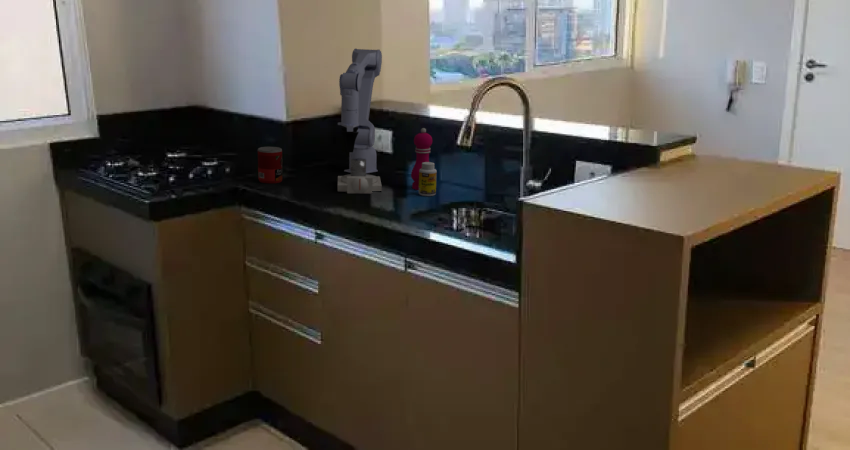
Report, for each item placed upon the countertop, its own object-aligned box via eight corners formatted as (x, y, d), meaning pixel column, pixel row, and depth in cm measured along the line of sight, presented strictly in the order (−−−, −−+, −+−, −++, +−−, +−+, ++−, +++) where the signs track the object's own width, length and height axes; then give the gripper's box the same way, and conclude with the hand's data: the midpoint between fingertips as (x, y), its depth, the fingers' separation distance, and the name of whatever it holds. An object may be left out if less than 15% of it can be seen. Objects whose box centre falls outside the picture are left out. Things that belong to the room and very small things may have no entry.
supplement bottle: (418, 196, 257) (419, 164, 254) (418, 192, 263) (419, 161, 260) (436, 196, 257) (437, 165, 255) (435, 192, 263) (436, 161, 260)
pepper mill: (430, 191, 264) (432, 130, 259) (408, 190, 265) (410, 128, 260) (434, 187, 271) (436, 127, 265) (413, 185, 272) (414, 125, 267)
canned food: (280, 184, 268) (279, 151, 265) (256, 183, 268) (255, 150, 265) (284, 179, 275) (284, 147, 272) (261, 178, 275) (260, 146, 272)
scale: (337, 181, 274) (338, 166, 272) (379, 182, 275) (379, 166, 274) (337, 193, 258) (337, 177, 256) (381, 193, 259) (382, 177, 258)
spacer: (359, 175, 270) (359, 157, 269) (369, 178, 267) (369, 160, 265) (347, 177, 267) (347, 159, 265) (356, 180, 263) (356, 161, 262)
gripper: (338, 106, 276) (337, 146, 280) (337, 111, 262) (337, 153, 266) (358, 107, 277) (358, 147, 280) (359, 112, 263) (359, 154, 266)
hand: (349, 150), depth 273 cm, fingers open, 7 cm apart
